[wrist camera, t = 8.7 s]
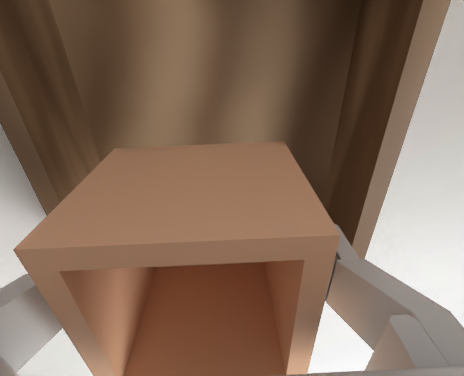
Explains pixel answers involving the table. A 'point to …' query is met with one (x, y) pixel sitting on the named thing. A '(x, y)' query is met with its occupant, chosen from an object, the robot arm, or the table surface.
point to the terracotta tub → (188, 262)
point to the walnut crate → (218, 87)
